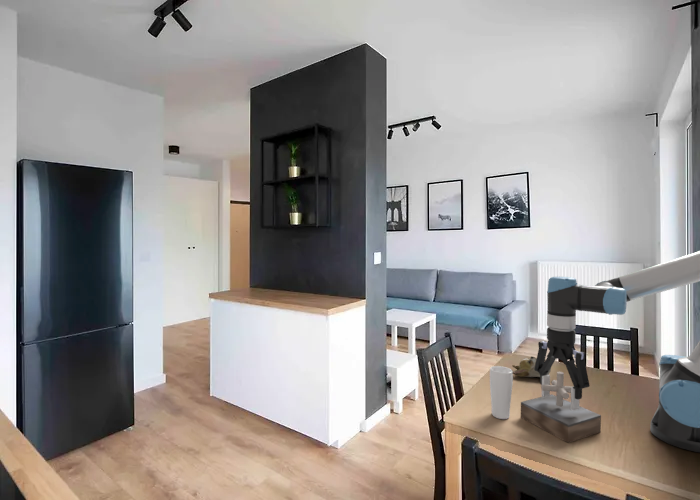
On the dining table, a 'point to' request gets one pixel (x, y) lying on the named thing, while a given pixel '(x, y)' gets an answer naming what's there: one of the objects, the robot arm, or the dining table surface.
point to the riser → (561, 418)
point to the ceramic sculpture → (527, 368)
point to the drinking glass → (501, 391)
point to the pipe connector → (558, 389)
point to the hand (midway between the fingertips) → (559, 402)
